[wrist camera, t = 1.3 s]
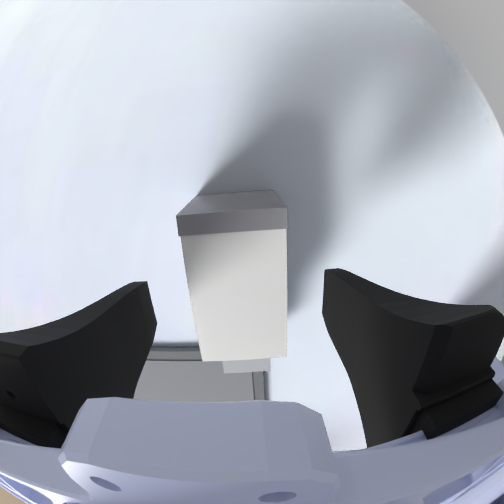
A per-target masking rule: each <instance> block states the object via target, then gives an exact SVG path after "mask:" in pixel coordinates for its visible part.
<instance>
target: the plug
mask: <svg viewBox="0 0 504 504" xmlns="http://www.w3.org/2000/svg"><path fill="white" fill-rule="evenodd" d="M176 219H177V227H178V234H179V236H181V242H182V249H183V256H184V263H185V270H186V276H187V282H188V288H189V294H190V300H191V305H192V311H193V316H194V322H195V327H196V332H197V337H198V342H199V347H200V352H201V356H202V361H222V363H223V369H224V373H244V372H260V371H270V358H276V357H287V237H286V229H288V209H287V206H286V205H285V204H284V203H283V202H282V200H281V199H280V198H279V197H278V196H277V195H276V193H275V192H274V191H273V190H262V191H245V192H231V193H218V194H206V195H197V196H196V197H194V198H193V199H192V200H191V201H190V202H189V203H188V204H187V205H186V206H185V207H184V208H183V209H182V210H181V211H180V212H179V213H178V214H177V215H176Z"/></svg>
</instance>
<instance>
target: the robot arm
mask: <svg viewBox="0 0 504 504" xmlns="http://www.w3.org/2000/svg"><path fill="white" fill-rule="evenodd" d="M322 314H323V318H324V321H325V324H326V328H327V331H328V333H329V335H330V338H331V340H332V342H333V344H334V346H335V348H336V350H337V352H338V354H339V356H340V358H341V360H342V363H343V365H344V367H345V369H346V371H347V373H348V376H349V378H350V381H351V384H352V388H353V391H354V394H355V397H356V401H357V405H358V408H359V412H360V416H361V420H362V424H363V429H364V433H365V438H366V443H367V448H366V449H362V450H352V451H334V452H332V450H331V446H330V442H329V439H328V435H327V432H326V428H325V425H324V421H323V418H322V414H320V413H318V412H316V411H314V410H312V409H310V408H307V407H305V406H303V405H301V404H299V403H296V402H283V401H268V400H254V401H236V402H170V401H152V400H140V399H134V394H135V390H136V387H137V383H138V380H139V378H140V375H141V372H142V370H143V367H144V365H145V362H146V359H147V357H148V354H149V352H150V349H151V346H152V344H153V340H154V336H155V331H156V326H157V321H156V317H155V313H154V309H153V305H152V301H151V297H150V292H149V288H148V283H147V281H144V282H132V283H129V284H127V285H125V286H123V287H121V288H119V289H118V290H116V291H114V292H112V293H111V294H109V295H107V296H105V297H104V298H102V299H100V300H98V301H97V302H95V303H93V304H91V305H89V306H87V307H85V308H84V309H82V310H80V311H78V312H75V313H73V314H71V315H69V316H66V317H64V318H61V319H59V320H56V321H53V322H50V323H47V324H44V325H41V326H37V327H33V328H29V329H25V330H20V331H14V332H7V333H0V486H1V487H2V488H4V489H5V490H7V491H8V492H10V493H11V494H13V495H14V496H16V497H18V498H20V499H21V500H23V501H24V502H26V503H28V504H504V365H503V364H502V363H501V362H500V361H499V360H498V359H497V358H496V357H495V356H496V354H497V352H498V349H499V347H500V345H501V343H502V340H503V337H504V316H503V314H502V313H500V312H499V311H498V310H497V309H495V308H494V307H493V306H491V305H456V304H446V303H438V302H433V301H428V300H423V299H419V298H414V297H411V296H408V295H404V294H401V293H398V292H395V291H392V290H390V289H387V288H385V287H382V286H380V285H377V284H375V283H373V282H370V281H368V280H366V279H364V278H362V277H360V276H357V275H355V274H353V273H351V272H348V271H346V270H343V269H340V268H337V269H326V270H325V273H324V292H323V308H322Z"/></svg>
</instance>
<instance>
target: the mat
mask: <svg viewBox="0 0 504 504" xmlns="http://www.w3.org/2000/svg"><path fill="white" fill-rule="evenodd" d="M134 399H140V400H152V401H170V402H236V401H254V400H265V398H264V377H263V371H260V372H244V373H224V369H223V363H222V361H202V356H201V352H200V347H151V349H150V352H149V354H148V357H147V359H146V362H145V365H144V367H143V370H142V372H141V375H140V378H139V380H138V383H137V387H136V390H135V394H134Z"/></svg>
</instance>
